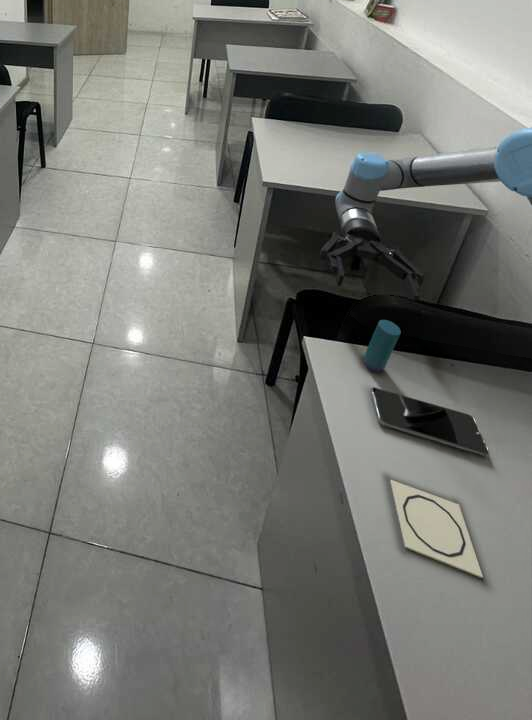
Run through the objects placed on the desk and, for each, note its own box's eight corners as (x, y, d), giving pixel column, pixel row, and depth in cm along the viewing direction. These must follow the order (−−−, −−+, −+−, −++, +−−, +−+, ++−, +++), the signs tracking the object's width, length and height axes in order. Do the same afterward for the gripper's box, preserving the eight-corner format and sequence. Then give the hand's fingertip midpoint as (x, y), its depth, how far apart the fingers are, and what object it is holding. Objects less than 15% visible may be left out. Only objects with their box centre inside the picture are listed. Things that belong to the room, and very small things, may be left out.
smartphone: (370, 385, 87) (472, 414, 83) (368, 389, 87) (470, 418, 83) (380, 422, 81) (491, 456, 76) (378, 426, 81) (489, 460, 77)
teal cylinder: (380, 361, 93) (398, 323, 89) (384, 376, 90) (403, 337, 86) (360, 354, 94) (376, 317, 90) (363, 369, 91) (380, 331, 87)
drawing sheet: (458, 505, 71) (459, 504, 70) (482, 578, 63) (483, 577, 63) (389, 480, 73) (390, 479, 73) (404, 547, 65) (405, 546, 65)
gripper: (412, 258, 113) (440, 324, 95) (300, 230, 120) (306, 286, 102) (424, 232, 110) (455, 295, 92) (308, 205, 117) (316, 258, 99)
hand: (377, 290), depth 97 cm, fingers open, 13 cm apart
